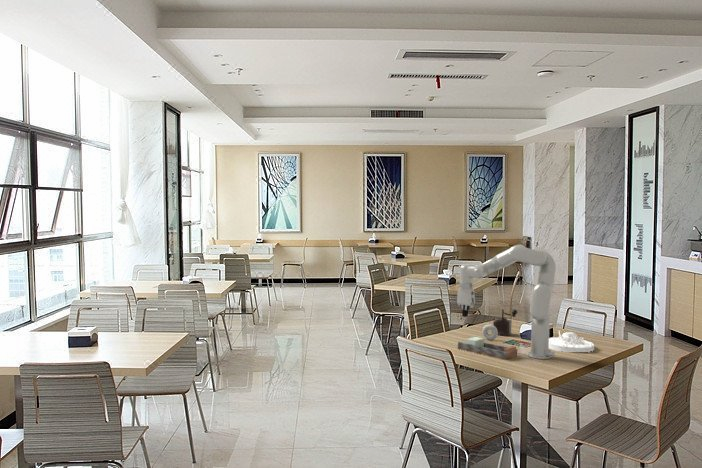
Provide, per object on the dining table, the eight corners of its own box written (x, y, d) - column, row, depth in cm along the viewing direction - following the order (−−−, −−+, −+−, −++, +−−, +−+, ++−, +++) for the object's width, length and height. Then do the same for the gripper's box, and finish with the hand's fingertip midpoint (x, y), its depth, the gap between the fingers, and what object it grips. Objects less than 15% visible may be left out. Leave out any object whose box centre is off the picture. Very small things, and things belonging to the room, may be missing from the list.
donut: (481, 339, 354) (481, 323, 354) (482, 338, 357) (482, 322, 357) (496, 341, 349) (497, 325, 349) (498, 340, 352) (498, 324, 352)
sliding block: (483, 347, 326) (484, 338, 326) (475, 349, 320) (475, 340, 320) (475, 345, 331) (475, 336, 331) (466, 347, 325) (466, 338, 325)
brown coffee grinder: (492, 335, 368) (493, 308, 368) (495, 331, 378) (496, 305, 377) (516, 337, 361) (517, 310, 361) (519, 334, 371) (520, 307, 370)
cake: (604, 351, 329) (605, 335, 329) (568, 355, 318) (568, 338, 318) (569, 341, 355) (569, 326, 354) (534, 344, 344) (534, 329, 344)
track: (517, 356, 312) (517, 346, 312) (505, 359, 304) (505, 350, 304) (469, 345, 336) (470, 336, 335) (457, 348, 328) (458, 339, 327)
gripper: (480, 286, 327) (479, 317, 328) (459, 283, 338) (458, 313, 339) (472, 287, 322) (471, 319, 323) (451, 284, 333) (451, 315, 334)
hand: (465, 316), depth 331 cm, fingers closed
